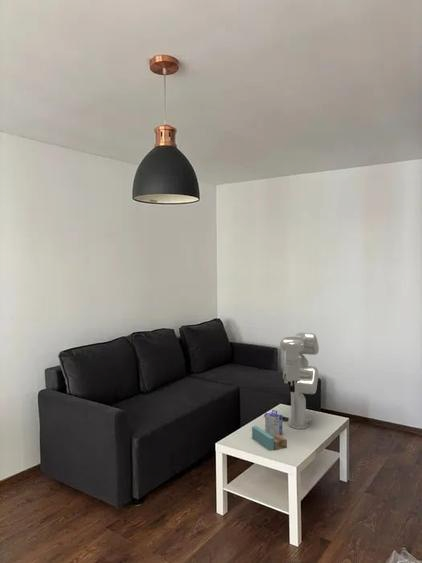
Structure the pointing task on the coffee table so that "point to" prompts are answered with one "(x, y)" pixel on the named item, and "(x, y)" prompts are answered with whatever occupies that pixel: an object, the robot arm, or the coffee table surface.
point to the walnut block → (279, 442)
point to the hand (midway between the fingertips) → (292, 391)
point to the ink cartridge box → (273, 423)
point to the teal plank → (263, 437)
